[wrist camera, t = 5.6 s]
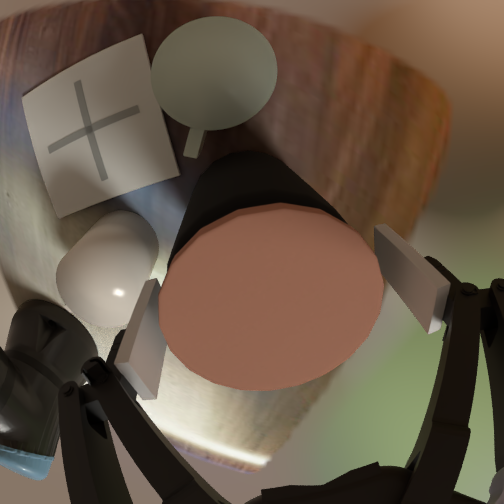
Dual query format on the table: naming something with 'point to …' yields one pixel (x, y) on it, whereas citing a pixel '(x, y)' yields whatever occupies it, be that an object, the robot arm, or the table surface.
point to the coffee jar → (265, 279)
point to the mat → (100, 129)
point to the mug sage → (213, 76)
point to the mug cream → (108, 269)
